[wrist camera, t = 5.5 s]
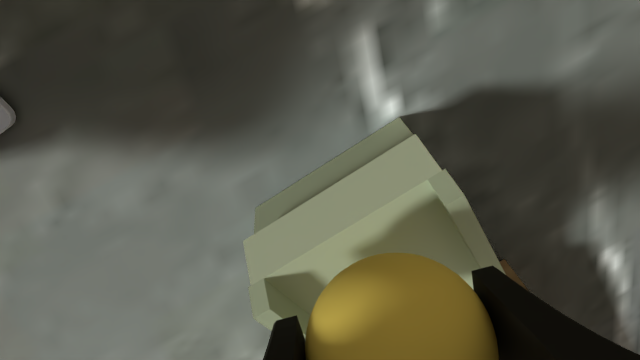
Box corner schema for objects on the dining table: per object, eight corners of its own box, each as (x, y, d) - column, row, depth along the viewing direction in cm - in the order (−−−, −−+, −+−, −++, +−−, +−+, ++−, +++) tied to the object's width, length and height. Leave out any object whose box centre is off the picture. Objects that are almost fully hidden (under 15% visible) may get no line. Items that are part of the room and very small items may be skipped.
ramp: (245, 199, 20) (234, 299, 14) (394, 104, 18) (450, 169, 13) (374, 354, 24) (407, 477, 18) (501, 284, 23) (578, 393, 17)
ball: (319, 359, 16) (332, 519, 11) (285, 237, 14) (286, 374, 9) (464, 331, 16) (535, 479, 11) (454, 203, 14) (537, 325, 9)
